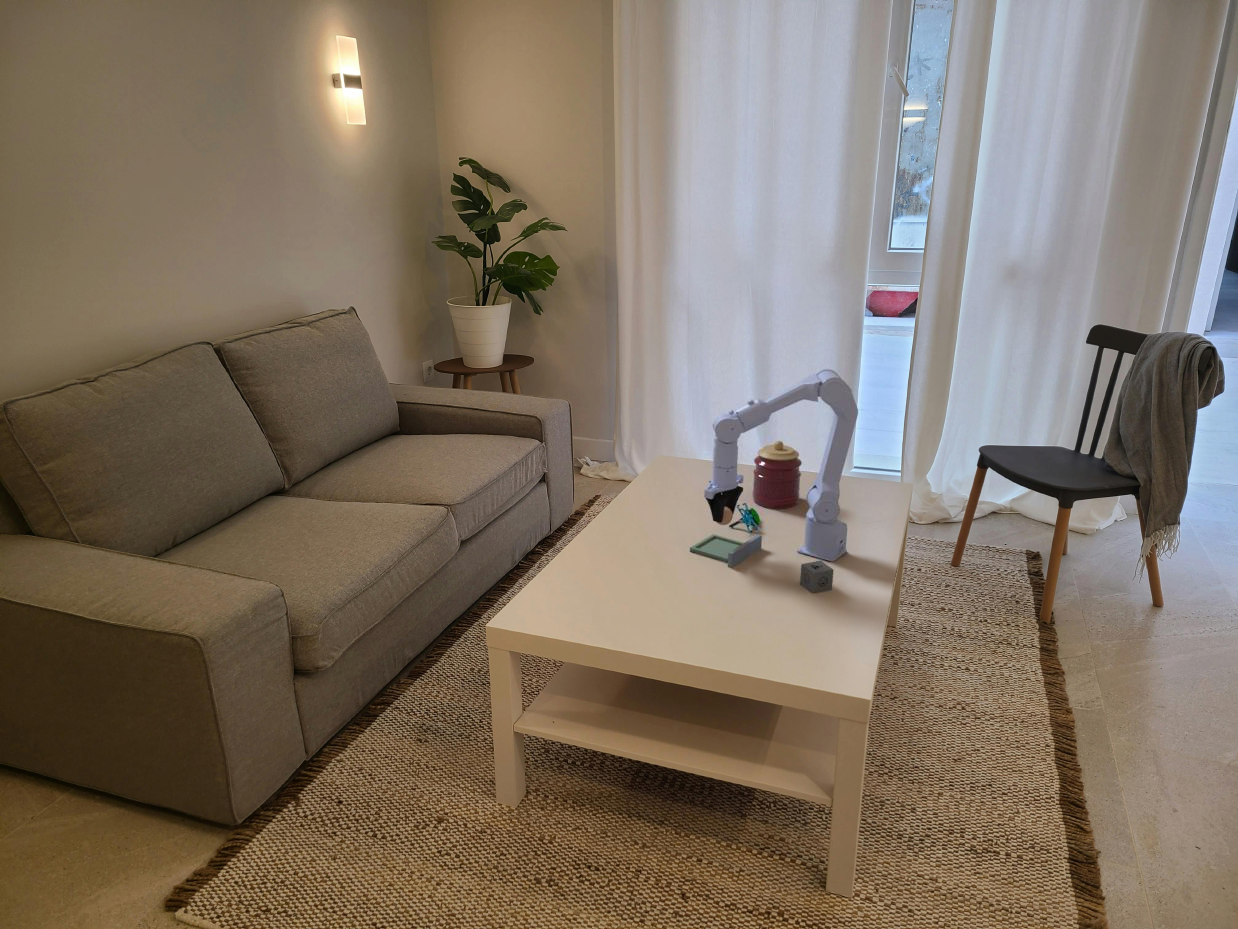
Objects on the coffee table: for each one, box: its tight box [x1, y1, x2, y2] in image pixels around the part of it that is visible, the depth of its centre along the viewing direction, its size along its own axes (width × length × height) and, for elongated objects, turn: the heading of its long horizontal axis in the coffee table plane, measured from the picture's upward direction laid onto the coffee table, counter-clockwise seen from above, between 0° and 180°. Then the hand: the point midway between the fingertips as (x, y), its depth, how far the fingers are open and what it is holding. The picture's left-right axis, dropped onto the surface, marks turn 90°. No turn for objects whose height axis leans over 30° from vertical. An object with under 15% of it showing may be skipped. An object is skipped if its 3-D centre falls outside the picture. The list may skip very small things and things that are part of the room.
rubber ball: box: [716, 507, 734, 526], centre depth 207 cm, size 4×4×4 cm
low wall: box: [727, 533, 763, 568], centre depth 206 cm, size 1×14×4 cm, turn 142°
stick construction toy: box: [728, 502, 761, 534], centre depth 224 cm, size 12×7×8 cm
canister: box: [752, 440, 803, 509], centre depth 239 cm, size 13×13×18 cm
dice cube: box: [799, 560, 834, 594], centre depth 190 cm, size 5×5×5 cm
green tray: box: [689, 533, 744, 564], centre depth 210 cm, size 11×11×1 cm
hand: (723, 518), depth 207 cm, fingers closed on rubber ball, 4 cm apart
